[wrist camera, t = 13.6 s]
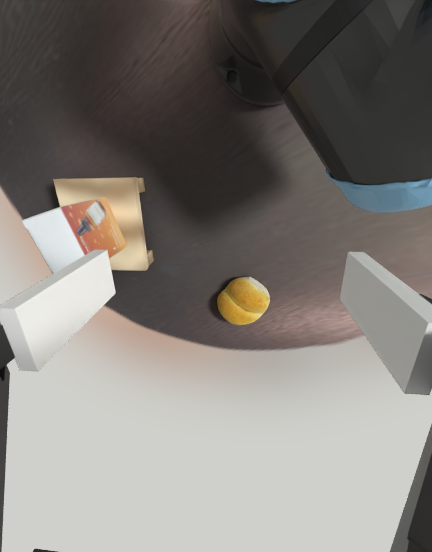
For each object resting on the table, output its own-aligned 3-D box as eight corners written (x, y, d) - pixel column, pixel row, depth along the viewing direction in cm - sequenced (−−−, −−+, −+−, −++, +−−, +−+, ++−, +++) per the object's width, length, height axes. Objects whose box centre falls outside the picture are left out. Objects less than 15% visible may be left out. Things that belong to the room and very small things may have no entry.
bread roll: (210, 302, 49) (207, 314, 45) (241, 267, 45) (240, 276, 42) (245, 327, 50) (245, 340, 46) (277, 295, 47) (280, 306, 43)
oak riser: (69, 177, 42) (53, 179, 38) (143, 176, 41) (132, 177, 37) (88, 261, 48) (75, 269, 44) (153, 261, 46) (145, 270, 43)
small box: (129, 246, 41) (93, 271, 32) (98, 255, 43) (55, 282, 33) (106, 195, 39) (60, 206, 29) (74, 206, 40) (19, 220, 30)
